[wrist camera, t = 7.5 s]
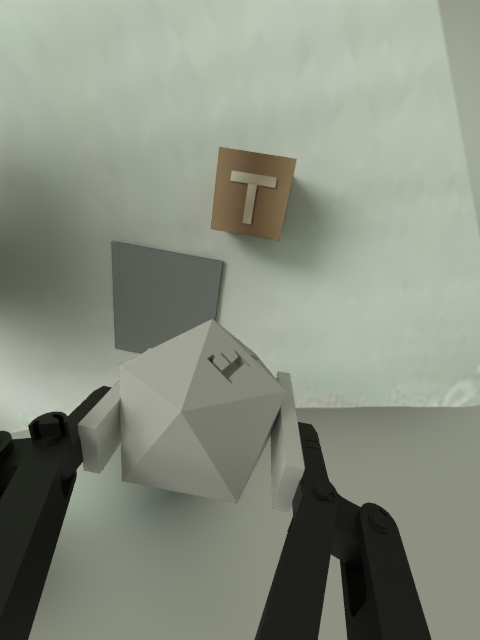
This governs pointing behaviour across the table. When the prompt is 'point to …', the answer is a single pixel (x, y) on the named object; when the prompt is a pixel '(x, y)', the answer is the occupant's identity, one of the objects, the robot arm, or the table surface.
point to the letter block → (251, 193)
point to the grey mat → (160, 295)
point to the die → (196, 414)
